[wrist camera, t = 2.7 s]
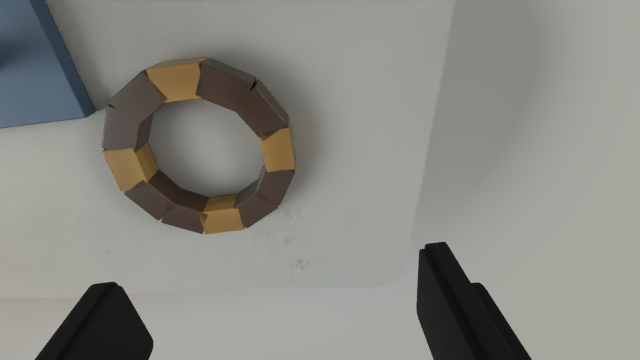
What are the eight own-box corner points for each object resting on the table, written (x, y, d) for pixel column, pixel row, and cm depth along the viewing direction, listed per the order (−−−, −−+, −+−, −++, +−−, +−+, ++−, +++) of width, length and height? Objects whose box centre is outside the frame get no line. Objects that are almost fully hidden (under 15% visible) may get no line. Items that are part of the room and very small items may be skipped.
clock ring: (155, 225, 26) (145, 242, 24) (86, 72, 20) (66, 78, 18) (303, 207, 26) (304, 222, 24) (278, 48, 20) (276, 52, 18)
